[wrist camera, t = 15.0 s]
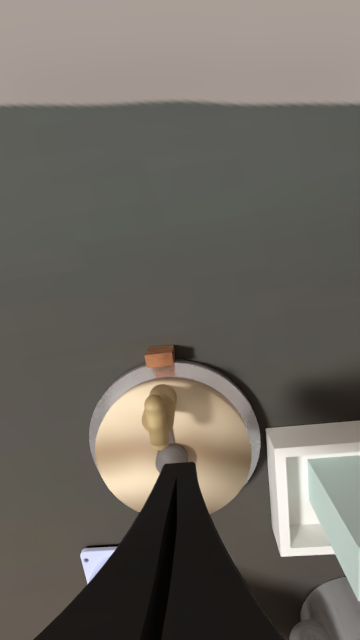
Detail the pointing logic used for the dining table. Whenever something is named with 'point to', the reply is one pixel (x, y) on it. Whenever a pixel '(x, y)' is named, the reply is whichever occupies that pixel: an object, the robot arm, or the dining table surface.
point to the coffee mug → (329, 613)
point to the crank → (173, 440)
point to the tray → (302, 481)
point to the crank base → (166, 365)
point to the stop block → (338, 509)
